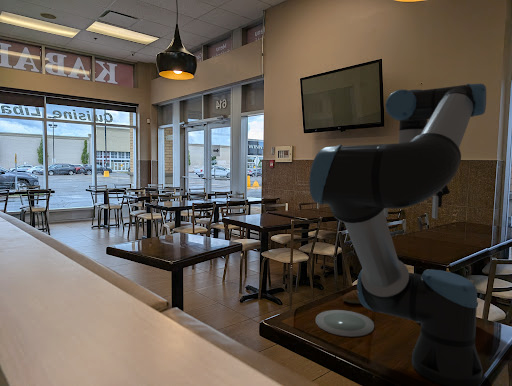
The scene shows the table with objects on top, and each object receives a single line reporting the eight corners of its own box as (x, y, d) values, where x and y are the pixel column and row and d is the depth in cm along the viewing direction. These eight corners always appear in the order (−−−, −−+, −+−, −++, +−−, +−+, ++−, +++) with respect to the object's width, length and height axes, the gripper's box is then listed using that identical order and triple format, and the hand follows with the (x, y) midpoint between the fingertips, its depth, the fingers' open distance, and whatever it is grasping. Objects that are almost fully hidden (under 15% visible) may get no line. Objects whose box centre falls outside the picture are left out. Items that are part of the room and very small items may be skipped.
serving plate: (377, 339, 101) (377, 337, 101) (314, 333, 105) (314, 331, 105) (370, 314, 119) (370, 312, 119) (316, 309, 123) (316, 307, 123)
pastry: (348, 305, 126) (349, 295, 125) (338, 298, 132) (339, 289, 132) (371, 302, 128) (371, 292, 128) (360, 296, 135) (360, 286, 135)
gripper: (454, 145, 104) (451, 217, 105) (366, 146, 109) (364, 214, 110) (464, 144, 97) (460, 220, 98) (369, 144, 102) (367, 217, 103)
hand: (409, 217), depth 104 cm, fingers open, 13 cm apart
